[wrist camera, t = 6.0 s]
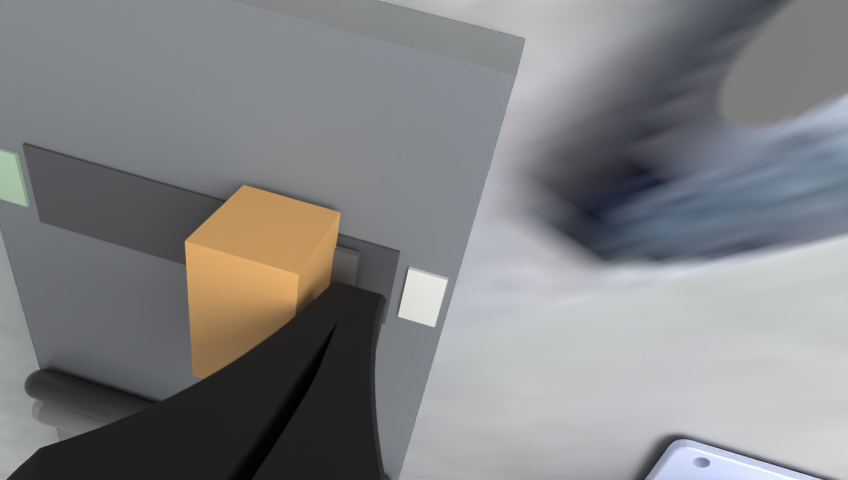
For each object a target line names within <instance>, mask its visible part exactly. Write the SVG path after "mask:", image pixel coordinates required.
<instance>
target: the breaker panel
mask: <svg viewBox="0 0 848 480" xmlns="http://www.w3.org/2000/svg"><path fill="white" fill-rule="evenodd" d="M524 43H525V39H524V38H520V37H516V36H512V35H509V34H505V33H501V32H497V31H493V30H489V29H485V28H481V27H478V26H474V25H470V24H466V23H462V22H458V21H454V20H450V19H447V18H443V17H439V16H435V15H431V14H427V13H423V12H419V11H416V10H412V9H408V8H404V7H400V6H396V5H392V4H388V3H385V2H381V1H377V0H0V229H1V232H2V236H3V240H4V243H5V247H6V250H7V254H8V257H9V261H10V264H11V268H12V271H13V275H14V278H15V282H16V286H17V289H18V293H19V296H20V300H21V303H22V307H23V310H24V314H25V317H26V321H27V324H28V328H29V331H30V335H31V339H32V342H33V346H34V349H35V353H36V356H37V360H38V363H39V367H40V370H37V371H35V372H33V373H32V374H30V375H29V376H28V378H27V379H26V381H25V391H26V393H27V394H28V395H29V396H30V397H32V398H34V399H37V401H36V402H35V403H34V405H33V408H32V413H33V416H34V418H35V419H36V420H37V421H39V422H41V423H44V424H47V425H51V426H54V427H57V430H58V434H59V437H60V441H63V440H66V439H69V438H71V437H74V436H77V435H80V434H83V433H86V432H88V431H91V430H94V429H97V428H100V427H102V426H105V425H107V424H110V423H112V422H115V421H117V420H119V419H122V418H124V417H126V416H128V415H131V414H133V413H135V412H138V411H140V410H142V409H145V408H147V407H149V406H151V405H154V404H156V403H158V402H160V401H162V400H164V399H166V398H168V397H170V396H172V395H174V394H176V393H178V392H180V391H182V390H184V389H186V388H188V387H190V386H191V385H193V384H195V383H197V382H199V381H201V380H203V378H199V377H196V376H193V371H192V354H191V337H190V320H189V303H188V286H187V269H186V252H185V240H186V239H187V238H189V237H190V236H191V235H192V234H193V233H194V232H195V231H196V230H197V229H198V228H199V227H200V226H201V225H202V224H203V223H204V222H205V221H206V220H207V219H208V218H209V217H211V216H212V215H213V214H214V213H215V212H216V211H217V210H218V209H219V208H220V207H221V206H222V205H223V204H224V203H225V202H226V201H227V200H228V199H229V198H230V197H231V196H233V195H234V194H235V193H236V192H237V191H238V190H239V189H240V188H241V187H242V186H243V185H246V186H250V187H253V188H257V189H260V190H264V191H267V192H271V193H274V194H278V195H281V196H285V197H288V198H292V199H295V200H299V201H302V202H306V203H309V204H313V205H316V206H320V207H324V208H327V209H331V210H334V211H338V212H341V213H340V221H339V228H338V236H337V244H336V245H337V246H340V247H344V248H347V249H351V250H354V251H357V252H360V257H359V264H358V270H357V276H356V282H355V287H358V288H362V289H365V290H369V291H372V292H375V293H379V294H382V295H383V296H384V297H385V298H386V300H387V301H386V306H385V310H384V315H383V320H382V325H381V329H380V334H379V339H378V344H377V348H376V360H375V394H376V412H377V423H378V433H379V441H380V449H381V456H382V462H383V467H384V473H385V478H386V480H398V478H399V475H400V472H401V468H402V465H403V461H404V458H405V455H406V451H407V448H408V444H409V441H410V437H411V434H412V431H413V427H414V424H415V420H416V417H417V413H418V410H419V407H420V403H421V400H422V396H423V393H424V389H425V386H426V383H427V379H428V376H429V372H430V369H431V365H432V362H433V359H434V355H435V352H436V348H437V345H438V341H439V338H440V335H441V331H442V328H443V324H444V321H445V317H446V314H447V311H448V307H449V304H450V300H451V297H452V294H453V290H454V287H455V283H456V280H457V276H458V273H459V270H460V266H461V263H462V259H463V256H464V252H465V249H466V246H467V242H468V239H469V235H470V232H471V228H472V225H473V222H474V218H475V215H476V211H477V208H478V204H479V201H480V198H481V194H482V191H483V187H484V184H485V180H486V177H487V174H488V170H489V167H490V163H491V160H492V156H493V153H494V150H495V146H496V143H497V139H498V136H499V133H500V129H501V126H502V122H503V119H504V115H505V112H506V109H507V105H508V102H509V98H510V95H511V91H512V88H513V85H514V81H515V78H516V74H517V70H518V66H519V62H520V58H521V54H522V51H523V47H524Z"/></svg>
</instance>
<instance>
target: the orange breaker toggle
mask: <svg viewBox="0 0 848 480" xmlns="http://www.w3.org/2000/svg"><path fill="white" fill-rule="evenodd" d="M340 213H341V212H338V211H334V210H331V209H327V208H324V207H320V206H316V205H313V204H309V203H306V202H302V201H299V200H295V199H292V198H288V197H285V196H281V195H278V194H274V193H271V192H267V191H264V190H260V189H257V188H253V187H250V186H246V185H243V186H242V187H241V188H240V189H239V190H238V191H237V192H236V193H235V194H234V195H233V196H231V197H230V198H229V199H228V200H227V201H226V202H225V203H224V204H223V205H222V206H221V207H220V208H219V209H218V210H217V211H216V212H215V213H214V214H213V215H212V216H211V217H209V218H208V219H207V220H206V221H205V222H204V223H203V224H202V225H201V226H200V227H199V228H198V229H197V230H196V231H195V232H194V233H193V234H192V235H191V236H190V237H189V238H187V239H186V240H185V252H186V269H187V286H188V303H189V320H190V337H191V354H192V371H193V376H196V377H199V378H203V379H204V378H206V377H208V376H210V375H211V374H213V373H215V372H216V371H218V370H220V369H222V368H223V367H225V366H226V365H228V364H230V363H231V362H233V361H234V360H236V359H237V358H239V357H240V356H242V355H243V354H245V353H246V352H248V351H249V350H251V349H252V348H253V347H255V346H256V345H258V344H259V343H260V342H262V341H263V340H265V339H266V338H268V337H269V336H270V335H272V334H273V333H274V332H276V331H277V330H278V329H279V328H281V327H282V326H283V325H284V324H286V323H287V322H288V321H289V320H291V319H292V318H293V317H295V316H296V315H297V314H298V313H299V312H301V311H302V310H303V309H304V308H305V307H306V306H308V305H309V304H310V303H311V302H312V301H313V300H314V299H315V298H317V297H318V296H319V295H320V294H321V293H322V292H323V291H324V290H325V289H326V288H327V287H328V286H329V285H330V284H331V283H333V282H336V281H338V282H342V283H345V284H348V285H352V286H355V282H356V276H357V270H358V264H359V257H360V252H357V251H354V250H351V249H347V248H344V247H340V246H337V245H336V244H337V236H338V228H339V221H340Z"/></svg>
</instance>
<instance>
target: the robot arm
mask: <svg viewBox="0 0 848 480" xmlns="http://www.w3.org/2000/svg"><path fill="white" fill-rule="evenodd" d="M386 301H387V300H386V298H385V297H384V296H383V295H382V294H379V293H375V292H372V291H369V290H365V289H362V288H358V287H355V286H352V285H348V284H345V283H342V282H338V281H336V282H333V283H331V284H330V285H329V286H328V287H327V288H326V289H325V290H324V291H323V292H322V293H321V294H320V295H319V296H318V297H317V298H315V299H314V300H313V301H312V302H311V303H310V304H309V305H308V306H306V307H305V308H304V309H303V310H302V311H301V312H299V313H298V314H297V315H296V316H295V317H293V318H292V319H291V320H289V321H288V322H287V323H286V324H284V325H283V326H282V327H281V328H279V329H278V330H277V331H276V332H274V333H273V334H272V335H270V336H269V337H268V338H266V339H265V340H263V341H262V342H260V343H259V344H258V345H256V346H255V347H253V348H252V349H251V350H249V351H248V352H246V353H245V354H243V355H242V356H240V357H239V358H237V359H236V360H234V361H233V362H231V363H230V364H228V365H226V366H225V367H223V368H222V369H220V370H218V371H216V372H215V373H213V374H211V375H210V376H208V377H206V378H204V379H203V380H201V381H199V382H197V383H195V384H193V385H191V386H190V387H188V388H186V389H184V390H182V391H180V392H178V393H176V394H174V395H172V396H170V397H168V398H166V399H164V400H162V401H160V402H158V403H156V404H154V405H151V406H149V407H147V408H145V409H142V410H140V411H138V412H135V413H133V414H131V415H128V416H126V417H124V418H122V419H119V420H117V421H115V422H112V423H110V424H107V425H105V426H102V427H100V428H97V429H94V430H91V431H88V432H86V433H83V434H80V435H77V436H74V437H71V438H69V439H66V440H63V441H60V442H57V443H54V444H51V445H48V446H45V447H42V448H39V449H38V450H37V451H36V452H35V453H34V454H33V455H32V456H31V457H30V458H29V459H28V460H27V461H25V462H24V463H23V464H22V465H21V466H20V467H19V468H18V469H17V470H16V471H15V472H14V473H13V474H12V475H10V476H9V477H8V479H7V480H386V478H385V473H384V467H383V462H382V456H381V449H380V441H379V433H378V423H377V412H376V394H375V360H376V348H377V344H378V339H379V334H380V329H381V325H382V320H383V315H384V310H385V306H386ZM699 457H701V458H699ZM645 480H822V479H818V478H815V477H812V476H808V475H805V474H802V473H798V472H795V471H792V470H788V469H785V468H782V467H778V466H775V465H772V464H768V463H765V462H762V461H758V460H755V459H752V458H748V457H745V456H742V455H738V454H735V453H732V452H728V451H725V450H722V449H718V448H715V447H712V446H708V445H705V444H702V443H698V442H695V441H692V440H687V439H681V440H677V441H674V442H673V443H672V444H671V445H670V446H669V447H668V448H667V450H666V451H665V453H664V454H663V455H662V457H661V458H660V459H659V461H658V462H657V464H656V465H655V466H654V468H653V469H652V470H651V472H650V473H649V475H648V476H647V477H646V479H645Z"/></svg>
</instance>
